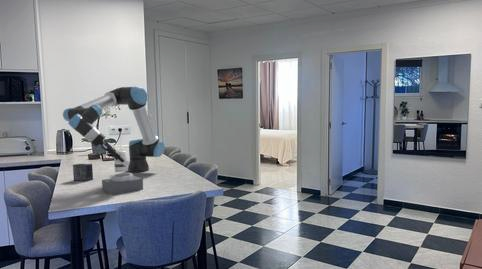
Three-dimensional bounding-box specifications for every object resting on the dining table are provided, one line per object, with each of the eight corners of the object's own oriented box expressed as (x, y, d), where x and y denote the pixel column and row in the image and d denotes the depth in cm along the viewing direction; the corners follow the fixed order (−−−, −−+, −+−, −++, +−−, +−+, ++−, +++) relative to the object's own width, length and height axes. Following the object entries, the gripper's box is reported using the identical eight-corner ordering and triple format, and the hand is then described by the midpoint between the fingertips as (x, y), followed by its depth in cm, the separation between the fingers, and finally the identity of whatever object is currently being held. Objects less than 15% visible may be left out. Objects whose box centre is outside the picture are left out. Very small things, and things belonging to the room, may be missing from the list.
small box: (93, 179, 227) (92, 163, 226) (86, 181, 220) (85, 165, 220) (80, 178, 230) (79, 163, 229) (73, 180, 223) (72, 164, 222)
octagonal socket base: (132, 185, 207) (132, 171, 207) (143, 189, 197) (142, 174, 196) (102, 190, 196) (101, 175, 195) (111, 194, 185) (110, 179, 184)
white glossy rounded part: (125, 169, 200) (124, 150, 199) (130, 170, 195) (129, 151, 194) (112, 170, 195) (111, 151, 195) (117, 172, 190) (116, 152, 189)
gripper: (91, 140, 198) (122, 166, 205) (89, 144, 179) (123, 172, 186) (100, 131, 199) (131, 157, 206) (99, 133, 180) (133, 161, 188)
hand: (127, 164), depth 196 cm, fingers closed on white glossy rounded part, 7 cm apart
